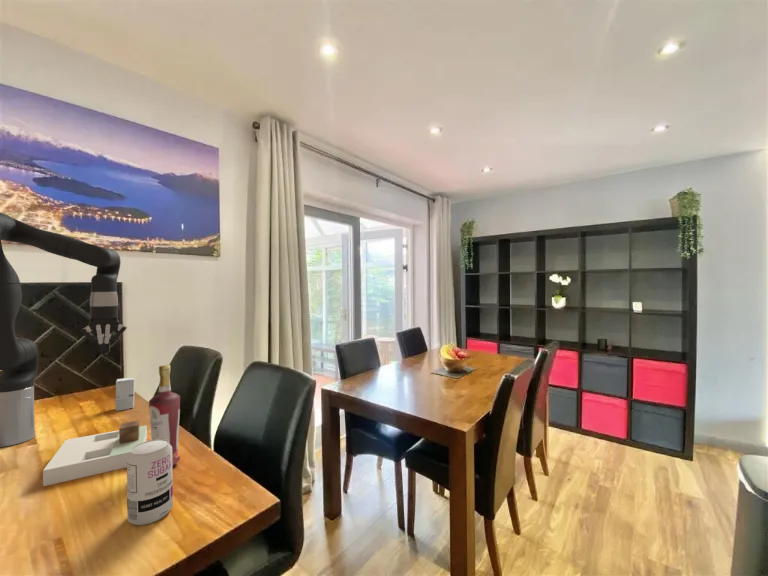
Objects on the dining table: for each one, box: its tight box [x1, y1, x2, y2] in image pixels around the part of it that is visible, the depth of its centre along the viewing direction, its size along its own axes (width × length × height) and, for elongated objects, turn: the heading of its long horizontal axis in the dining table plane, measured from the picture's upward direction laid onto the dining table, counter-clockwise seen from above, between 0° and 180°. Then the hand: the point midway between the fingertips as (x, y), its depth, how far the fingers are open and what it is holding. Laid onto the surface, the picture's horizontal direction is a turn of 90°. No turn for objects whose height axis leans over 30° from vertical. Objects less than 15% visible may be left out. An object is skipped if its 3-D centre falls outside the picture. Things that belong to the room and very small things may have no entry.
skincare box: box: [114, 377, 135, 412], centre depth 139 cm, size 6×4×12 cm
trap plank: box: [42, 425, 148, 487], centre depth 98 cm, size 20×20×4 cm
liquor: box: [148, 364, 181, 468], centre depth 93 cm, size 7×7×28 cm
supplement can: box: [126, 439, 174, 526], centre depth 74 cm, size 8×8×15 cm
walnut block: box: [118, 420, 140, 444], centre depth 102 cm, size 4×4×4 cm
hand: (104, 354), depth 117 cm, fingers closed
